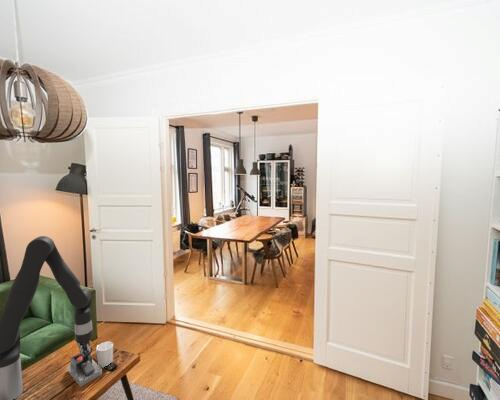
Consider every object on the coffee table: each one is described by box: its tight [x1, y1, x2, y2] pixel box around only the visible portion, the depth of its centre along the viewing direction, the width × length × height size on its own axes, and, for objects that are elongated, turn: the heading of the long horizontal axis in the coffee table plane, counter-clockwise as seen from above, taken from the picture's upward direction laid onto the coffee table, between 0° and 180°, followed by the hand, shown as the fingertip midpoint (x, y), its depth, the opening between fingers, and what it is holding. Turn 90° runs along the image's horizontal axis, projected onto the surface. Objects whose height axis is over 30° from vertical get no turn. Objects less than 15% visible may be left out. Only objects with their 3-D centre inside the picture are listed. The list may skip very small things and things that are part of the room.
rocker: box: [81, 360, 95, 375], centre depth 132 cm, size 4×7×2 cm, turn 53°
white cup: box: [96, 340, 114, 369], centre depth 141 cm, size 8×8×10 cm
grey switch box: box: [67, 352, 103, 388], centre depth 135 cm, size 10×16×7 cm, turn 53°
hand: (85, 361), depth 134 cm, fingers closed
